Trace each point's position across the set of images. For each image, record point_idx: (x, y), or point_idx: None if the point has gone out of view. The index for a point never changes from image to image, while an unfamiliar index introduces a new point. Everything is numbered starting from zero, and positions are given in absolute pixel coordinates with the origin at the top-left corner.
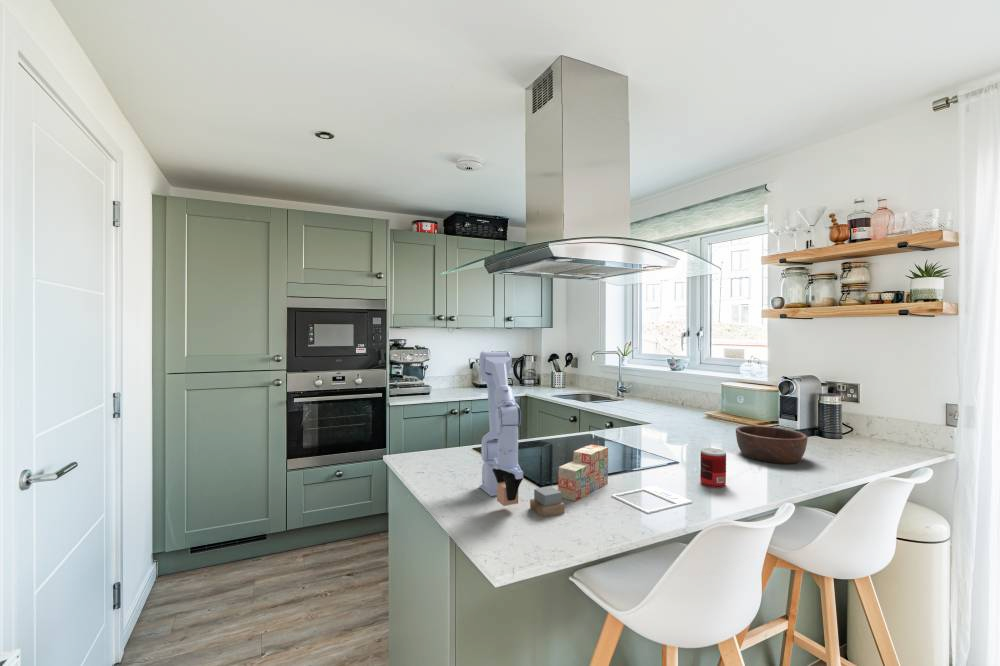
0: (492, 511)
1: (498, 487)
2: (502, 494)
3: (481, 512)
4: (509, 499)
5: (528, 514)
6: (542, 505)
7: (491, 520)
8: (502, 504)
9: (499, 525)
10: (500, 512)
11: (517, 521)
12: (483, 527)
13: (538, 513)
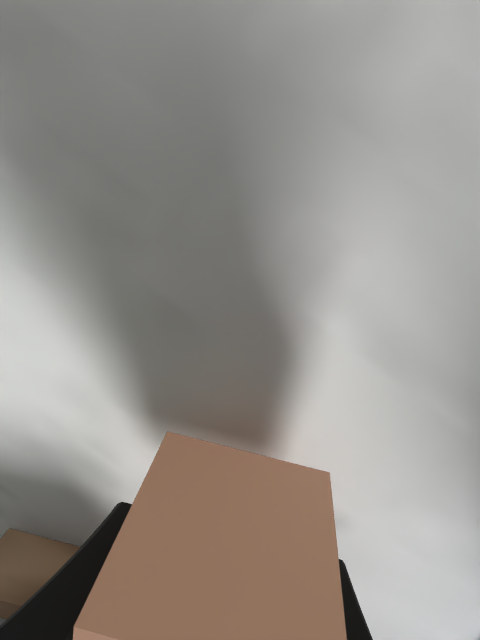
0: (296, 356)
1: (287, 620)
2: (165, 529)
3: (347, 264)
4: (108, 516)
5: (90, 502)
6: (2, 614)
7: (135, 227)
8: (194, 441)
9: (11, 219)
10: (234, 392)
11: (20, 378)
12: (32, 54)
13: (61, 547)
